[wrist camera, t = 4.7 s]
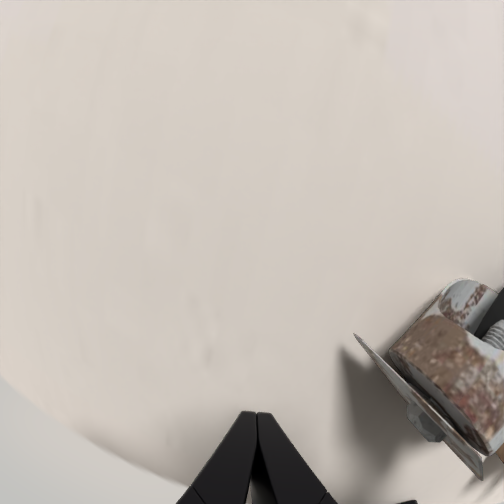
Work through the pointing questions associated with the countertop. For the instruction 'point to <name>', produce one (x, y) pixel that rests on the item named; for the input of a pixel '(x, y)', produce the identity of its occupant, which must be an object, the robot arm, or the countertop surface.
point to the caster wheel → (454, 371)
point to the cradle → (501, 452)
